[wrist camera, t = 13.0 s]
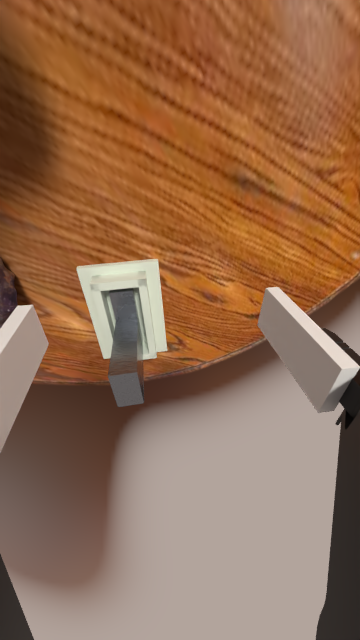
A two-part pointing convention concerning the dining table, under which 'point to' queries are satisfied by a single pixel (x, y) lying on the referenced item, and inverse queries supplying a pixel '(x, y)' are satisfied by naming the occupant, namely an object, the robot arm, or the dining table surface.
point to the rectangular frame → (147, 299)
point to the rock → (6, 293)
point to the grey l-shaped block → (126, 350)
